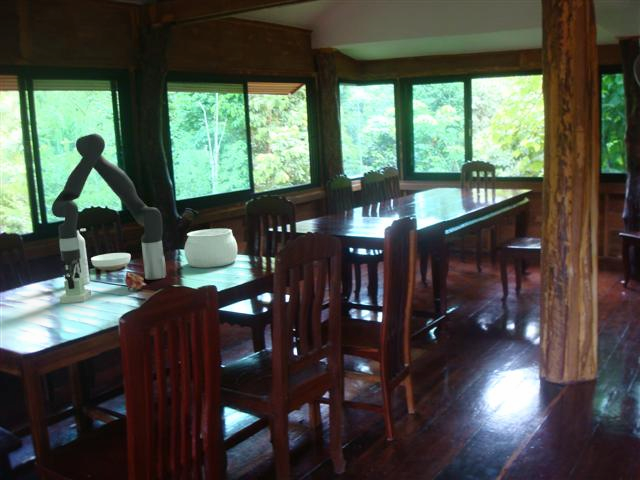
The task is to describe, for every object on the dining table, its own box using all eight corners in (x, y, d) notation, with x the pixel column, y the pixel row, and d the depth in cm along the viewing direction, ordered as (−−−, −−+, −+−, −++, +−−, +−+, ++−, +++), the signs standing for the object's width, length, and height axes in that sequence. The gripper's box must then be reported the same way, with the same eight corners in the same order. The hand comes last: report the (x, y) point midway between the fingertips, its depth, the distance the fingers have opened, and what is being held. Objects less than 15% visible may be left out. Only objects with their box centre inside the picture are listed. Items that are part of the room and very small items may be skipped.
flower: (121, 290, 291) (131, 274, 290) (117, 282, 298) (126, 267, 298) (141, 299, 296) (151, 283, 296) (136, 290, 304) (145, 275, 303)
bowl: (139, 265, 354) (138, 253, 353) (110, 273, 338) (108, 261, 337) (114, 263, 364) (112, 252, 363) (84, 271, 348) (82, 259, 347)
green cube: (84, 291, 290) (83, 277, 289) (80, 294, 284) (78, 280, 283) (70, 292, 289) (68, 278, 288) (65, 295, 283) (64, 281, 282)
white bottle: (82, 285, 314) (76, 231, 310) (72, 284, 317) (65, 231, 313) (96, 280, 322) (90, 228, 317) (86, 280, 324) (79, 228, 320)
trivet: (91, 295, 292) (90, 289, 292) (84, 301, 282) (84, 295, 282) (67, 297, 292) (67, 291, 291) (60, 303, 282) (59, 297, 281)
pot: (214, 256, 366) (211, 226, 363) (251, 259, 350) (248, 228, 347) (172, 267, 342) (169, 235, 339) (210, 271, 327) (207, 238, 324)
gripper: (73, 250, 276) (78, 289, 279) (84, 244, 290) (88, 281, 293) (55, 252, 276) (60, 291, 279) (66, 246, 290) (70, 283, 293)
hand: (74, 286), depth 286 cm, fingers open, 8 cm apart
